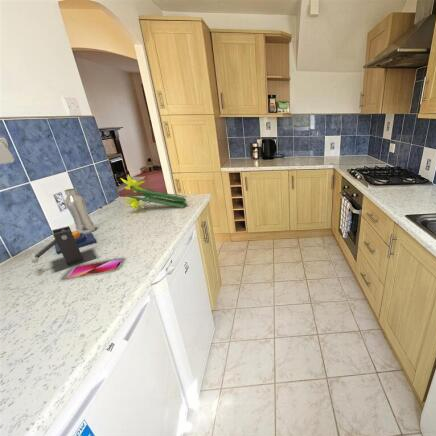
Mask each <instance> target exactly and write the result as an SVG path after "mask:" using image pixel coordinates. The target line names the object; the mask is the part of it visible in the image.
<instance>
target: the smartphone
mask: <svg viewBox="0 0 436 436" xmlns="http://www.w3.org/2000/svg"><path fill="white" fill-rule="evenodd" d="M123 262H124V259H123V258H117V259H111V260H106V261H100V262H94V263H89V264H83V265H76V266H75V268H74V269H72V271H71V272H70V273H69V275H68V276H67V277H66V280H68V279H76V278H80V277H87V276H92V275H97V274H104V273H110V272H114V271H117V270H118V269H119V268H120V267H121V265H122V264H123Z"/></svg>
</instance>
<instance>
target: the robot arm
mask: <svg viewBox="0 0 436 436" xmlns="http://www.w3.org/2000/svg"><path fill="white" fill-rule="evenodd" d="M9 146H10V144H9V142H8V140H7V138H5V136H2V135H0V165H7V164H12V163H14V162H15V156H14V155H13V154H12V152H11V151H10V149H9Z"/></svg>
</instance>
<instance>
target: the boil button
mask: <svg viewBox="0 0 436 436" xmlns="http://www.w3.org/2000/svg"><path fill="white" fill-rule="evenodd" d="M71 232H72V234H73V236H74V239H77V238H79V237H81V236H80V233H79V231H76V230H73V231H71Z"/></svg>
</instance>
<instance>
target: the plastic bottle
mask: <svg viewBox="0 0 436 436" xmlns="http://www.w3.org/2000/svg"><path fill="white" fill-rule="evenodd" d="M64 194H65V196H66V197H65V199H64V200H65V201H64V205H65V206H66V208H67V210H68V211H69V214H70V215H71V217H72V219H73V222H74V227H75V231H79V233H84V234H88V233H92V232H94V231H95V230H96V226H95V224H94V222H93V221H92V219H91V216H90V215H89V212H88V209H87V206H86V201H85V199H84V198H83V197H82V196H81V195H79V194H78V191H77V189H76V188H68V189H64Z"/></svg>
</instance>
